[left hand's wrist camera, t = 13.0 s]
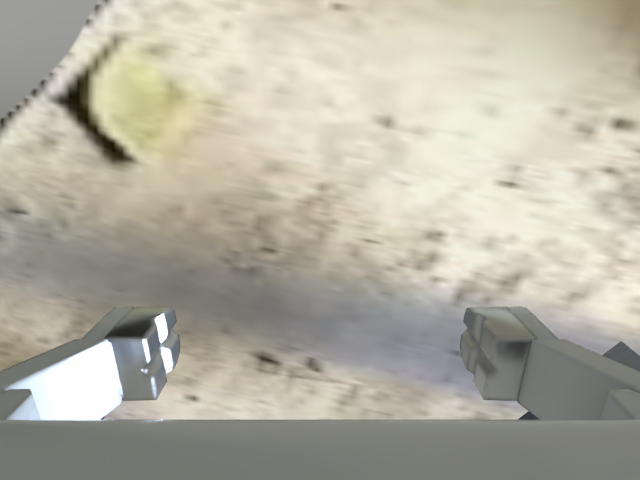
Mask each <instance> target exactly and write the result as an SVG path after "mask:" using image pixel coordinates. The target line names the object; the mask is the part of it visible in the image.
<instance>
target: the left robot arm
mask: <svg viewBox="0 0 640 480" xmlns="http://www.w3.org/2000/svg"><path fill="white" fill-rule="evenodd" d="M176 322H177V321H176V315H175V311H174V310H173V309H172V307H134V306H126V307H114V308H113V309H112V310H111V311H110V312H109V313H108V314H107V315H106V316H105V317H104V318H103V319H102V320H101V321H100V322H99V323H97V324H96V325H95V326H94V327H93V328H92V329H91V330H90V331H89V332H88V333H87V334H86V335H85V336H84V337H83V338H82V339H80V340H73V341H70V342H68V343H66V344H63V345H61V346H59V347H56V348H54V349H52V350H49V351H47V352H45V353H42V354H40V355H38V356H35V357H33V358H31V359H28V360H26V361H24V362H21V363H19V364H17V365H14V366H12V367H10V368H7V369H5V370H3V371H0V480H640V372H639V371H637V370H635V369H632V368H630V367H628V366H625V365H623V364H621V363H618V362H616V361H614V360H611V359H609V358H607V357H605V356H602V355H600V354H598V353H595V352H593V351H591V350H588V349H586V348H584V347H581V346H579V345H577V344H574V343H572V342H570V341H567V340H560V339H558V338H557V337H556V336H555V335H554V334H553V333H552V332H551V331H550V330H549V329H548V328H547V327H546V326H545V325H544V324H543V323H542V322H541V321H539V320H538V319H537V318H536V317H535V316H534V315H533V314H532V313H531V312H530V311H529V310H528V309H527V308H525V307H522V306H515V307H476V308H467V309H466V312H465V315H464V320H463V322H464V323H465V325H466V326H467V328H468V329H467V330H466V331H465V332H464V333H463V334H462V335H461V341H460V351H461V357H462V361H463V363H464V365H465V367H466V369H467V370H468V371H470V372H471V373H473V374H474V379H473V382H474V383H475V385H476V387H477V389H478V391H479V392H480V394H481V396H482V398H483V399H484V400H508V401H518V403H519V404H520V405H522V406H523V407H524V408H526V409H527V410H528V411H529V412H531V413H532V414H533V415H535V416H536V417H537V418H539V419H540V420H100V419H102V418H103V417H104V416H105V415H107V414H108V413H109V412H111V411H112V410H113V409H115V408H116V407H117V406H118V405H120V404H121V403H122V401H132V400H156V399H157V398H158V396H159V394H160V392H161V391H162V389H163V387H164V385H165V383H166V382H167V379H166V374H167V373H169V372H170V371H172V370H173V369H174V367H175V365H176V363H177V361H178V357H179V353H180V340H179V335H178V334H177V333H176V332H175V331H174V330H173V329H172V328H173V326H174V325H175V323H176Z"/></svg>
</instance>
